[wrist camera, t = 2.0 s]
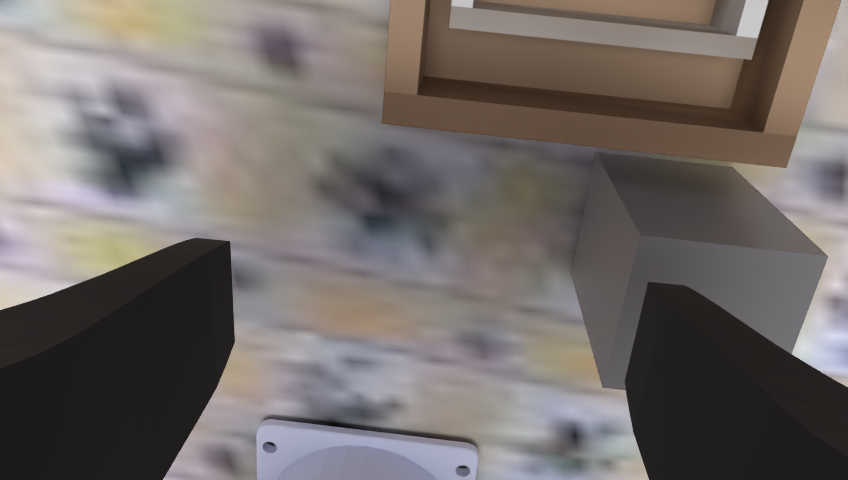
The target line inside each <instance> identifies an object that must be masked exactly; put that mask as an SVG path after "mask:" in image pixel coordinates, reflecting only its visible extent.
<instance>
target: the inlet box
mask: <svg viewBox="0 0 848 480" xmlns="http://www.w3.org/2000/svg"><path fill="white" fill-rule="evenodd" d="M840 3H841V0H391V2H390V17H389V31H388V46H387V60H386V75H385V89H384V104H383V118H382V124H391V125H400V126H409V127H418V128H427V129H436V130H446V131H455V132H464V133H473V134H482V135H491V136H500V137H509V138H518V139H527V140H537V141H546V142H555V143H564V144H573V145H582V146H591V147H600V148H609V149H619V150H628V151H637V152H646V153H655V154H664V155H673V156H682V157H691V158H701V159H710V160H719V161H728V162H737V163H746V164H755V165H764V166H773V167H783V168H786V167H787V164H788V161H789V158H790V155H791V152H792V149H793V146H794V143H795V140H796V137H797V134H798V131H799V128H800V125H801V122H802V119H803V116H804V113H805V110H806V107H807V103H808V100H809V97H810V94H811V91H812V88H813V85H814V82H815V79H816V76H817V73H818V70H819V67H820V64H821V61H822V58H823V55H824V52H825V49H826V46H827V43H828V40H829V37H830V34H831V30H832V27H833V24H834V21H835V18H836V15H837V12H838V9H839V6H840Z"/></svg>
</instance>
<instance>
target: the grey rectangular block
mask: <svg viewBox="0 0 848 480" xmlns="http://www.w3.org/2000/svg"><path fill="white" fill-rule="evenodd" d="M827 258H828V256H827V255H826V254H825V253H824V252H823V251H822V250H821V249H820V248H819V247H818V246H817V245H815V244H814V243H813V242H812V241H811V240H810V239H809V238H808V237H807V236H806V235H805V234H804V233H803V232H802V231H800V230H799V229H798V228H797V227H796V226H795V225H794V224H793V223H792V222H791V221H790V220H789V219H788V218H787V217H785V216H784V215H783V214H782V213H781V212H780V211H779V210H778V209H777V208H776V207H775V206H774V205H773V204H772V203H770V202H769V201H768V200H767V199H766V198H765V197H764V196H763V195H762V194H761V193H760V192H759V191H758V190H757V189H755V188H754V187H753V186H752V185H751V184H750V183H749V182H748V181H747V180H746V179H745V178H744V177H743V176H742V175H740V174H739V173H738V172H737V171H736V170H735V169H734V168H733V167H725V166H716V165H706V164H697V163H688V162H679V161H670V160H661V159H652V158H643V157H634V156H625V155H616V154H607V153H598V152H596V154H595V159H594V164H593V168H592V173H591V178H590V183H589V188H588V193H587V198H586V202H585V207H584V212H583V217H582V222H581V227H580V232H579V236H578V241H577V246H576V251H575V256H574V261H573V266H572V270H571V275H572V279H573V282H574V286H575V289H576V293H577V297H578V300H579V304H580V308H581V311H582V315H583V318H584V322H585V326H586V329H587V333H588V337H589V340H590V344H591V348H592V351H593V355H594V358H595V362H596V366H597V369H598V373H599V377H600V380H601V384H602V387H603V388H612V389H620V390H626V387H625V377H626V373H627V369H628V365H629V360H630V356H631V352H632V348H633V344H634V339H635V335H636V331H637V327H638V322H639V318H640V314H641V310H642V305H643V301H644V297H645V293H646V288H647V284H648V282H656V283H666V284H677V285H685V286H687V287H689V288H691V289H693V290H695V291H697V292H698V293H700V294H702V295H703V296H705V297H706V298H708V299H709V300H711V301H712V302H714V303H716V304H717V305H718V306H720V307H721V308H723V309H724V310H726V311H727V312H729V313H730V314H732V315H733V316H735V317H736V318H738V319H739V320H740V321H742V322H743V323H745V324H746V325H748V326H749V327H751V328H752V329H754V330H755V331H757V332H758V333H760V334H761V335H763V336H764V337H766V338H767V339H769V340H770V341H772V342H773V343H775V344H776V345H778V346H779V347H781V348H782V349H784V350H785V351H787V352H789V353H790V354H792V351H793V348H794V346H795V343H796V340H797V338H798V335H799V332H800V330H801V327H802V325H803V322H804V319H805V317H806V314H807V311H808V309H809V306H810V303H811V301H812V298H813V295H814V293H815V290H816V288H817V285H818V282H819V280H820V277H821V274H822V272H823V269H824V266H825V264H826V261H827Z"/></svg>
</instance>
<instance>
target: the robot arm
mask: <svg viewBox="0 0 848 480" xmlns="http://www.w3.org/2000/svg"><path fill="white" fill-rule="evenodd" d="M234 343H235V336H234V315H233V294H232V273H231V252H230V241H222V240H211V239H201V238H194V239H190V240H186V241H183V242H180V243H177V244H174V245H172V246H169V247H167V248H164V249H162V250H159V251H157V252H155V253H152V254H150V255H148V256H145V257H143V258H140V259H138V260H136V261H133V262H131V263H129V264H126V265H124V266H122V267H119V268H117V269H114V270H112V271H110V272H107V273H105V274H102V275H100V276H97V277H95V278H92V279H89V280H87V281H84V282H81V283H79V284H76V285H74V286H71V287H68V288H66V289H63V290H60V291H58V292H55V293H53V294H50V295H47V296H44V297H41V298H38V299H35V300H32V301H29V302H26V303H23V304H20V305H16V306H13V307H9V308H6V309H3V310H0V480H163V478H164V477H165V475H166V473H167V472H168V470H169V468H170V467H171V465H172V463H173V462H174V460H175V458H176V457H177V455H178V453H179V451H180V450H181V448H182V446H183V445H184V443H185V441H186V440H187V438H188V436H189V435H190V433H191V431H192V430H193V428H194V426H195V424H196V423H197V421H198V419H199V418H200V416H201V414H202V412H203V411H204V409H205V407H206V405H207V404H208V402H209V400H210V399H211V397H212V395H213V393H214V391H215V390H216V388H217V385H218V383H219V381H220V378H221V376H222V374H223V371H224V369H225V366H226V364H227V361H228V358H229V356H230V353H231V350H232V348H233V345H234ZM625 387H626V393H627V400H628V406H629V411H630V417H631V422H632V427H633V432H634V435H635V438H636V441H637V444H638V447H639V450H640V453H641V456H642V459H643V462H644V465H645V468H646V471H647V474H648V477H649V480H848V387H846V386H844V385H842V384H840V383H839V382H837V381H835V380H833V379H832V378H830V377H828V376H826V375H825V374H823V373H821V372H820V371H818V370H816V369H815V368H813V367H811V366H810V365H808V364H806V363H805V362H803V361H801V360H800V359H798V358H796V357H795V356H793V355H792V354H790V353H789V352H787V351H785V350H784V349H782V348H781V347H779V346H778V345H776V344H775V343H773V342H772V341H770V340H769V339H767V338H766V337H764V336H763V335H761V334H760V333H758V332H757V331H755V330H754V329H752V328H751V327H749V326H748V325H746V324H745V323H743V322H742V321H740V320H739V319H738V318H736V317H735V316H733V315H732V314H730V313H729V312H727V311H726V310H724V309H723V308H721V307H720V306H718V305H717V304H716V303H714V302H712V301H711V300H709V299H708V298H706V297H705V296H703V295H702V294H700V293H698V292H697V291H695V290H693V289H691V288H689V287H687V286H685V285H677V284H666V283H656V282H648V284H647V288H646V293H645V297H644V301H643V305H642V310H641V314H640V318H639V322H638V327H637V331H636V335H635V339H634V344H633V348H632V352H631V356H630V360H629V365H628V369H627V373H626V377H625ZM267 442H272V443H274V444H275V445H276V446H272V445H269V444H268V443H267ZM256 453H257V480H476V474H477V468H478V462H479V454H478V450H477V448H476V447H475V446H474V445H472V444H470V443H466V442H458V441H449V440H441V439H433V438H424V437H416V436H408V435H400V434H391V433H383V432H375V431H366V430H358V429H350V428H342V427H333V426H325V425H317V424H308V423H300V422H292V421H284V420H275V419H267V420H264V421H262V422H261V424H260V425H259V427H258V429H257V433H256ZM461 465H465V466H467V467H468V468H466V469H461V468H459V467H458V466H461Z"/></svg>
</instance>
